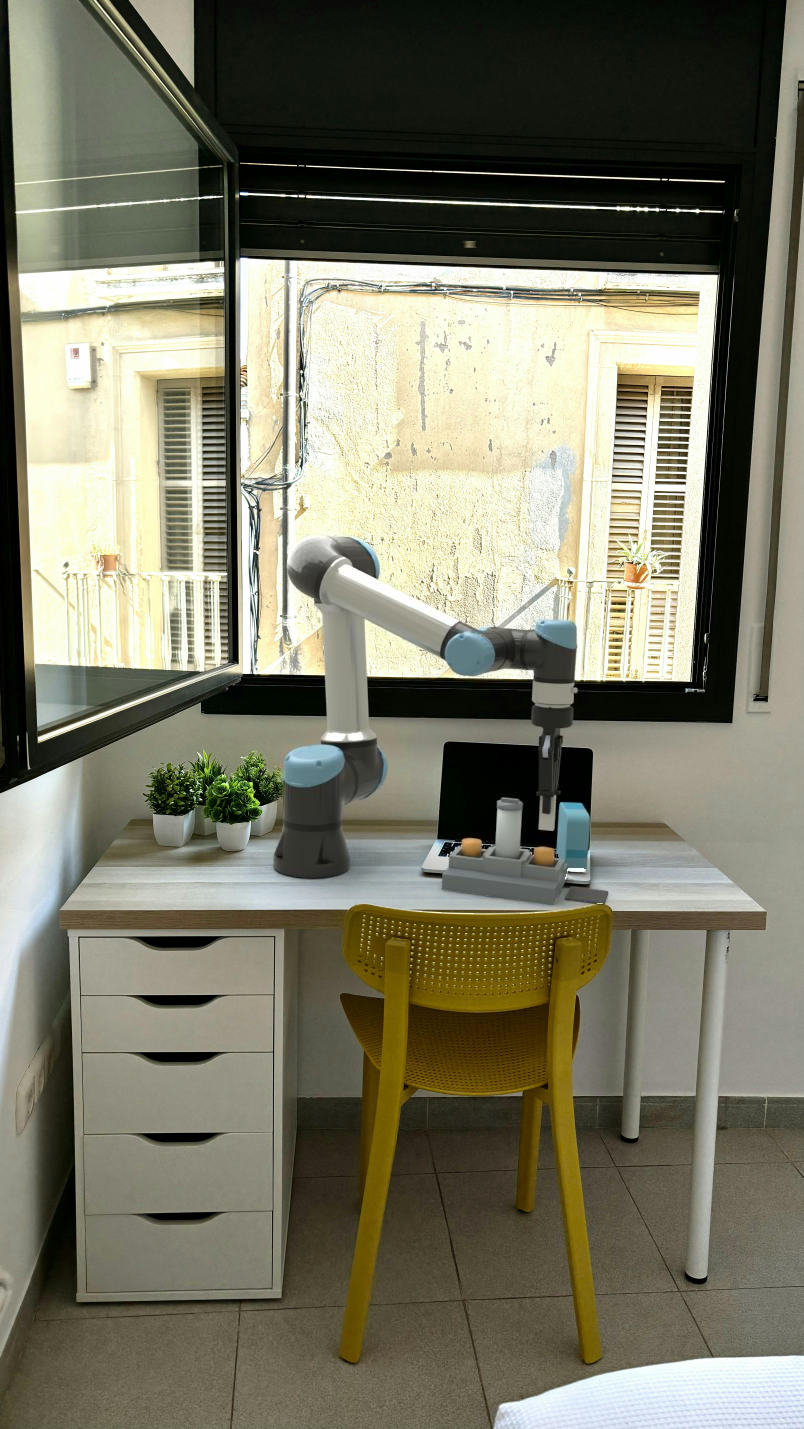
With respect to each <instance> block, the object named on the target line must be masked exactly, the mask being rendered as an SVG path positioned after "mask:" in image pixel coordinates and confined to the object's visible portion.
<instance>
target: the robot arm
mask: <svg viewBox="0 0 804 1429" xmlns="http://www.w3.org/2000/svg"><path fill="white" fill-rule="evenodd" d="M380 566H381V565H380V561H379V558H378V556H377V553H376V552H375V550H374V549H373V548H372V546H370V545H369V544H368V543H367V542H365V541H363V540H361V539H358V538H354V537H352V536H344V535H343V536H331V535H329V536H328V535H322V534H321V535H318V534H317V535H309V536H306V537H304V538H302V539H300V540H299V541H298V542H297V543H296V544H295V545H293V547H292V548H291V550H290V552H289V554H288V556H287V561H286V571H287V574H288V579H289V581H290V583H291V584H292V585H293V586H294V587H295V589H297V591H299V592H300V593H302V594H304V595H305V596H308V597H310V598H311V599H313V604H314V607H316V608H317V610H318V611H319V612H320V613H321V614H322V615H321V616H322V618H321V621H322V638H323V639H322V640H323V656H324V658H323V659H324V660H323V661H324V681H325V682H324V683H325V684H324V686H325V699H326V700H325V702H326V705H325V706H326V723H327V724H326V725H327V727H326V728H327V729H326V731H325V732H324V733H323V734H322V736H321V737H320V744H311V745H305V746H300V747H296V748H294V749H293V750H291V751H290V752H288V754H286V755H285V757H284V762H283V770H282V779H283V784H282V786H283V791H282V792H283V793H282V794H283V795H282V800H283V801H282V803H283V804H282V830H281V833H280V835H279V839H278V841H277V844H276V847H275V849H274V850H275V851H274V853H273V863H272V865H273V869H274V870H275V871H277V872H278V873H281V874H283V875H286V876H290V877H296V878H297V877H298V878H306V879H309V878H310V879H311V878H312V879H313V878H314V879H316V878H320V879H321V878H329V877H333V876H338V875H341V874H343V873H346V872H347V871H348V870H349V869H350V867H351V854H350V851H349V848H348V843H347V841H346V837H345V833H344V830H343V811H344V810H343V808H344V807H345V806H347V805H349V804H352V803H354V802H356V801H361V800H365V799H367V798H369V797H370V796H371V795H373V794H375V793H376V792H378V790H380V788H382V786H383V785H384V783H385V782H386V779H387V776H388V768H389V766H388V765H389V764H388V760H387V756H386V754H385V752H384V751H382V749H381V747H380V746H379V745H378V737H377V734H376V733H375V732H374V731H373V730H372V729H371V728H370V722H369V720H370V718H369V699H368V698H369V697H368V696H369V695H368V694H369V693H368V672H367V647H366V625H365V621H368V622H370V623H372V624H374V625H376V626H377V627H379V628H381V629H383V630H385V631H387V632H389V633H392V634H393V635H395V636H397V637H399V638H401V639H403V640H405V641H406V642H408V643H410V644H412V645H414V646H415V647H418V648H420V649H422V650H424V651H426V652H427V653H430V654H431V655H434V656H436V657H438V658H439V659H441V660H443V661H445V662H446V664H447V666H448V667H449V668H450V670H452V672H454V673H455V674H457V675H459V676H464V677H477V676H481V675H482V674H487V673H490V672H491V673H493V672H495V671H502V670H524V671H532V672H533V680H532V692H531V693H532V694H531V696H532V697H531V701H532V702H533V703H534V704H533V705H532V707H531V718H530V719H531V720H530V722H531V724H532V725H533V726H535V727H541V729H542V733H541V735H539V736H538V737H539V738H538V745H539V746H538V748H537V751H538V790H537V791H536V792H535V793H536V794H535V795H536V796H537V797H538V796H539V812H538V813H539V816H538V818H539V819H538V830H540V831H552V832H553V831H554V830H555V822H556V805H557V804H556V803H557V801H556V800H557V795H558V796H559V795H561V790H558V788H559V779H560V778H559V777H560V766H561V756H562V747H563V746H562V745H563V743H564V735H563V734H562V735H561V729H568V728H571V727H572V726H573V724H574V723H573V722H574V707H573V706H572V704H574V697H575V696H574V694H577V693H578V690H579V689H578V688H577V687H574V686H575V682H576V681H575V680H576V665H577V653H578V652H577V651H578V638H577V636H578V633H577V632H578V630H577V629H578V627H577V625H576V623H575V622H574V621H571V620H565V619H564V620H563V619H539V620H537V621H536V624H535V626H534V629H521V628H520V629H519V628H510V627H509V628H507V627H499V626H488V627H487V626H486V627H485V626H484V627H483V626H482V627H479V628H475V627H473V626H471V625H469V624H467V623H464V621H462V620H459V619H457V618H456V617H453V616H452V615H450V614H447V613H446V612H444V611H441V610H439V609H438V608H435V607H433V606H431V605H430V604H428V603H425V602H424V601H422V600H420V599H418V598H415V597H413V596H411V595H409V594H407V593H405V592H404V591H401V590H399V589H398V588H395V587H393V586H392V585H389V584H388V583H385V582H383V581H382V580H379V578H380V573H381V572H380V571H381V568H380Z"/></svg>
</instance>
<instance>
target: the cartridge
mask: <svg viewBox="0 0 804 1429" xmlns="http://www.w3.org/2000/svg"><path fill="white" fill-rule="evenodd" d="M523 806H524V803H523V802H522V801H521V800H520V799H518V798H511V797H504V796H503V797H501V798H500V799H499V800H497V801H496V809H497V811H496V826H495V827H496V831H495V846H496V847H495V857H502V858H510V859H518V860H519V853H520V849H521V832H522V831H521V830H522V814H523Z"/></svg>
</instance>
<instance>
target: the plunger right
mask: <svg viewBox="0 0 804 1429" xmlns="http://www.w3.org/2000/svg"><path fill="white" fill-rule="evenodd" d="M533 855H534V861H533V862H534V863H535V864H537V865H541V866H550V865H553V864H554V858H555V849H554V848H552V847H547V846H538V847H534V848H533Z"/></svg>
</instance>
